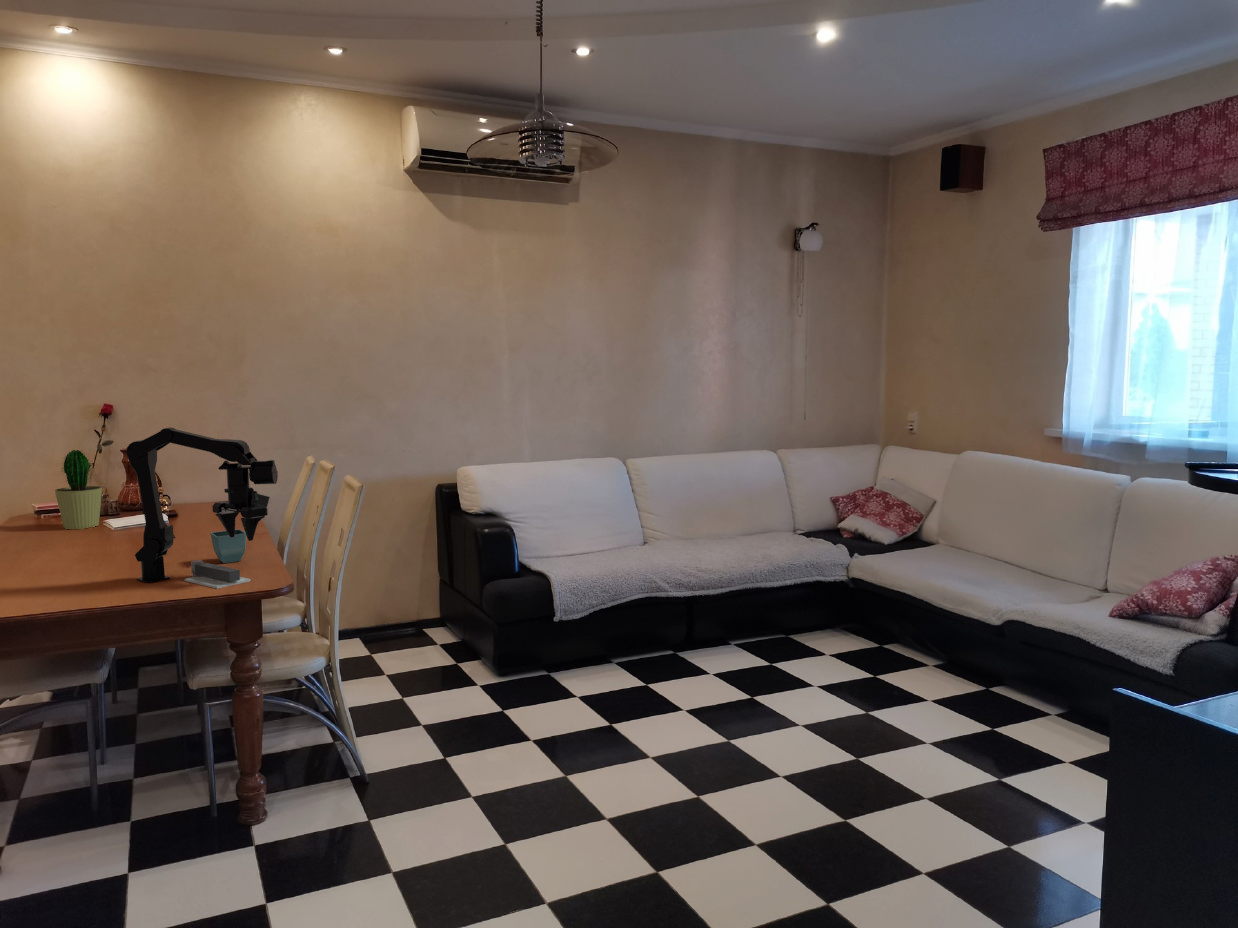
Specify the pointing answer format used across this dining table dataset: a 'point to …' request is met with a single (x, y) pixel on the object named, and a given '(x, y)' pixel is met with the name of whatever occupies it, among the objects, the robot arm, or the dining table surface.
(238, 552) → the flower pot
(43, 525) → the dining table surface
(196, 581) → the label board
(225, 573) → the bar
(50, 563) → the dining table surface
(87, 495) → the potted cactus
